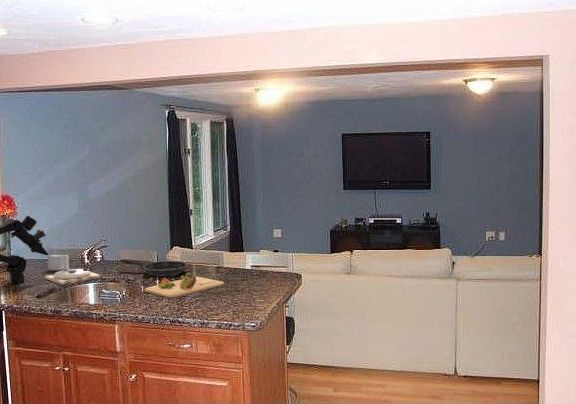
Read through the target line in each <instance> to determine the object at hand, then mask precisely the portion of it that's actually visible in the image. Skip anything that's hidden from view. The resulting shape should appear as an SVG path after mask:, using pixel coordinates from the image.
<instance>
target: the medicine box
mask: <svg viewBox="0 0 576 404" xmlns="http://www.w3.org/2000/svg"><path fill="white" fill-rule="evenodd" d="M63 255H64V254H56V255H55V254H52V255H47V266H48V271H63V270H64V266H63ZM62 269H63V270H62Z"/></svg>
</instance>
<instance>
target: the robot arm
mask: <svg viewBox="0 0 576 404" xmlns="http://www.w3.org/2000/svg"><path fill="white" fill-rule="evenodd" d="M37 223H38V222H37V220H36V219H34V218H32V217H31V216H30V215H26V216H25V218H24V219H22V221H21V220H19V219H8V220H6V221H4V222H3V223H2V224H1V225H0V235H3V234H5V233H10V239H13V238H14V237H15V238H17V239H19V241H21V242H22V243H23V244H25V245H26V246H27V247H28V248H29V249H30V251H31V252H32V253H33V254H34V253H37V254H41V255H44V256H49V253H48V252H47V250H46V249H45V248H44V247H43V242H42V240H41V238H43V237H46V233H45V231H44V230H43V229H42V230H40V229H37V230H36V232H35V233H34V234H33V233H30V232H31V231H32V230H33V228H34V227H35V226H36V225H37ZM0 263H2V264H6V267H5V271H6V273H8V279H9V281H8V284H11V285H18V284H23V283H24V284H25V274H24V272H25V271H26V267H27V260H26V259H25V258H24V256H19V255H12V254H10V255H9V256H6V255H3V254H0Z"/></svg>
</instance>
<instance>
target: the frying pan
mask: <svg viewBox="0 0 576 404" xmlns="http://www.w3.org/2000/svg"><path fill="white" fill-rule="evenodd" d="M119 261H120V262H121V263H124V264H129V265H135V266H139V268H141V270H142V271H145V272H146V273H147V274H148V275H150V276H153V277H171V276H177V275H180V274H182V273H183V272H184V271H185V270H186V268H187V266H188V262H184V261H179V260H164V261H153V262H149V263H145V262H143V261H140V260H135V259H127V258H124V259H120V260H119Z"/></svg>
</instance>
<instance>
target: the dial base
mask: <svg viewBox="0 0 576 404" xmlns="http://www.w3.org/2000/svg"><path fill="white" fill-rule="evenodd" d="M90 272H91V274H90V275H88V276H85V277H80V278H72V279H59V278H55V274H50V275H45V276H44V278H45V280H47V281H51V282H54V283H57V284H60V285H67V284H73V283H80V282H85V281H89V280H94V279H99V278H101V274H99V273H95V272H92V271H90Z"/></svg>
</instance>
